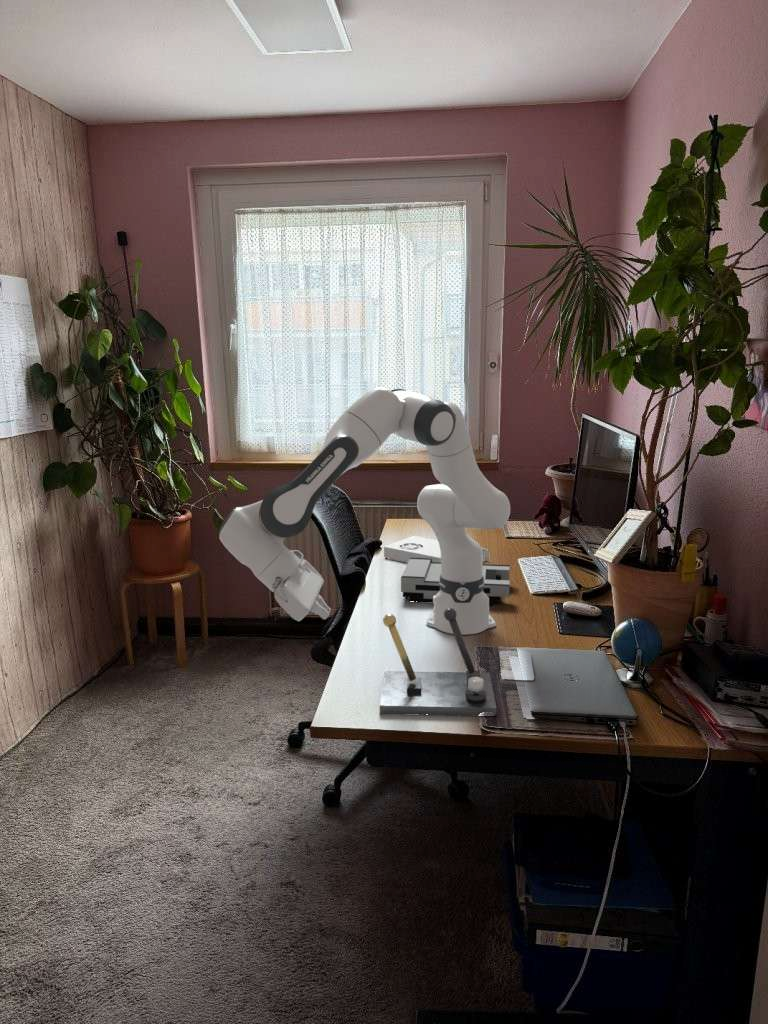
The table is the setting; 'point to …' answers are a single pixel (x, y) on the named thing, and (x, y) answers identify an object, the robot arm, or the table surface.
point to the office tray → (425, 576)
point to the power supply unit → (417, 549)
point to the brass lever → (399, 645)
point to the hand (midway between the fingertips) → (328, 615)
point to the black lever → (459, 638)
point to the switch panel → (435, 694)
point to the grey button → (475, 684)
